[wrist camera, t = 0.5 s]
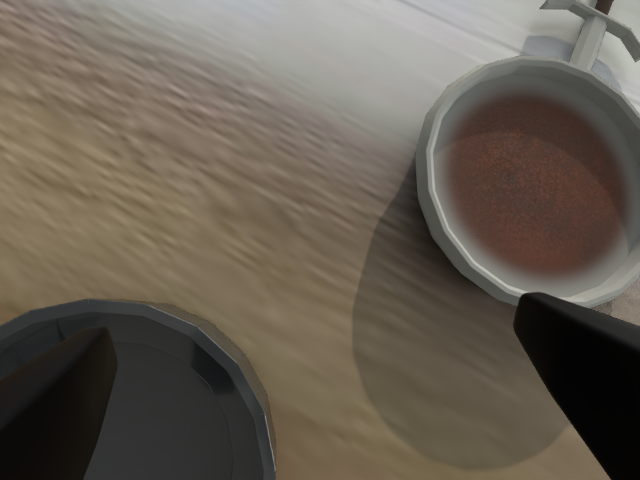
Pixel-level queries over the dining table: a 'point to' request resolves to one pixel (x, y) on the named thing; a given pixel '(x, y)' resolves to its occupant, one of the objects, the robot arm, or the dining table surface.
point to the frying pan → (537, 172)
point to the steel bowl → (161, 392)
